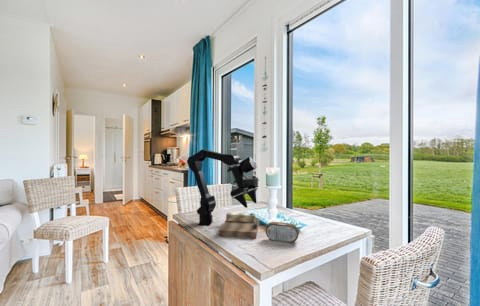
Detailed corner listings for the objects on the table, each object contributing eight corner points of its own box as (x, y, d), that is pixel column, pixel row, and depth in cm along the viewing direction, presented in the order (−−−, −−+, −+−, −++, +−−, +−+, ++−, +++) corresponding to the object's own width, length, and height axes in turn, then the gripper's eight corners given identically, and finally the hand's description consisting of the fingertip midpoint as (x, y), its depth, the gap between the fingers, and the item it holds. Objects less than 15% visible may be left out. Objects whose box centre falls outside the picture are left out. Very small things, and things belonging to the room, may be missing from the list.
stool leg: (226, 220, 128) (226, 213, 128) (227, 218, 131) (227, 211, 131) (254, 222, 126) (254, 214, 125) (255, 220, 129) (255, 213, 129)
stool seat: (218, 236, 114) (218, 226, 114) (228, 222, 136) (228, 213, 136) (256, 238, 111) (256, 228, 111) (259, 223, 133) (259, 215, 133)
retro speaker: (298, 241, 108) (298, 223, 108) (298, 244, 105) (298, 225, 105) (266, 238, 112) (266, 220, 112) (265, 240, 109) (265, 222, 109)
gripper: (241, 173, 110) (255, 204, 107) (260, 168, 126) (272, 196, 123) (224, 181, 115) (236, 211, 112) (244, 176, 131) (255, 203, 128)
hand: (251, 205), depth 119 cm, fingers open, 9 cm apart
